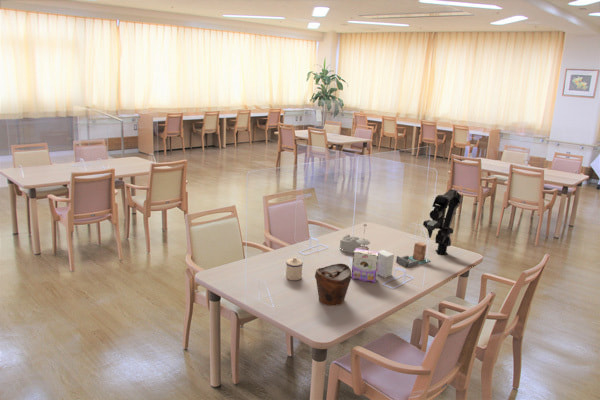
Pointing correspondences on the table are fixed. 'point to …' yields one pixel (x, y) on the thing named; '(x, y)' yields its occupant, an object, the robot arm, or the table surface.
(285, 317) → the table surface
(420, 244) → the terracotta block
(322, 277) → the brown tapered cylinder
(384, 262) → the small box
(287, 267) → the teacup with lid
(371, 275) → the candy box
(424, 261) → the teal mat
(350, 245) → the lumpy-topped squat cylinder
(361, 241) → the french press
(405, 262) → the charcoal u-shaped frame
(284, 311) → the table surface
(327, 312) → the table surface
